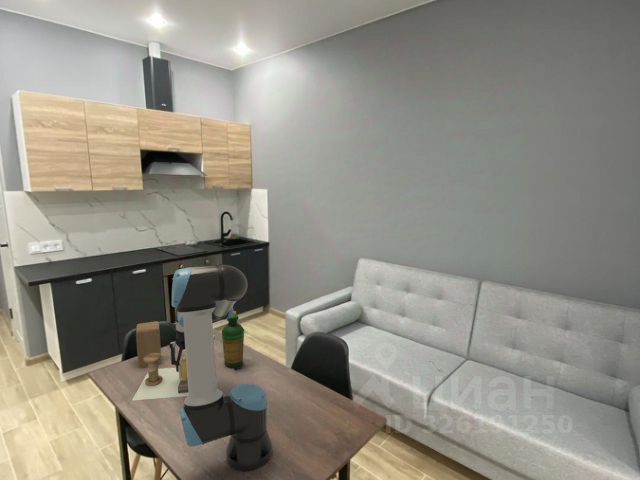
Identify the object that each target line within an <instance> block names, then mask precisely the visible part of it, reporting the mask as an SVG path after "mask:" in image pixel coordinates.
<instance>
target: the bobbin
mask: <svg viewBox="0 0 640 480" xmlns="http://www.w3.org/2000/svg"><path fill="white" fill-rule="evenodd" d="M160 359H161V360H162V353H161V354H160V353H151V354H148V355H146V356H145V357H144V362H146V363H148V367H147V373H148V375H149V378H147V379H146V380H145V384H146V385H147V386H155V385H158V384H160V383H161V382H162V381H163V378H162V376H160V375H159V374H158V369H159V365H158V360H160Z"/></svg>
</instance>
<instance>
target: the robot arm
mask: <svg viewBox="0 0 640 480" xmlns="http://www.w3.org/2000/svg"><path fill="white" fill-rule="evenodd" d="M247 290H248V279H247V277H246V275H245V274H244V272H242V271H241V270H240V269H239V268H237V267H236V266H233V265H228V264H218V265H217V264H216V265H206V266H194V267H191V266H190V267H185V268H180V269H177V270H175V272H174V274H173V279H172V285H171V306H172V307H173V308H174V315H175V316H174V317H175V338H176V340H175V341H170V343H169V344H168V346H169V348H170V361H171V362H170V364H171V365H173V366H175V368H176V371H177V372H179V380H180V379H181V378H182V371H181V360H182V354H183V351H184V350H185V357H186V364H187V378H188V391H189V394H188V396H185V398H184V400H183V406H182V407H181V408H179V409H178V410H179V415H180V421H181V425H182V429H183V434H184V438H185V442H186V444H187V446H188V447H192V448H193V447H197V446H201V445H205V444H208V443H211V442H213V441H217V440H219V439H221V440H222V439H223V438H227V437H229V440H228V442H227V445H226V449H225V452H226V454H225V455H226V456H225V457H226V461H227V464H228V465H229V466H230V467H231V468H232V469H235V470H237V471H241V472H248V471H254V470H256V469H257V470H258V469H259V468H261V467H263V466H264V465H266V463H268V462H269V460H270V459H271V456H272V453H273V443H272V440H271V437H270V434H269V433H268V430H267V428H268V427H267V425H268V423H267V422H268V421H267V418H268V417H267V415H268V414H267V409H268V408H267V407H268V402H267V394H266V391H265V390H264V388H263V387H261V386H259V385H256V384H253V383H241V384H238V385H237V384H236V385H235V386H234V387H233V388H231V390H230V392H229V395H225V396H224V393H223V391H222V390H220V389H219V388H218V380H217V368H216V367H217V365H216V353H215V338H214V326H213V322H217V321H220V320H221V321H222V320H227V319H228V318H232V316H233V311H234V304H235V303H236V302H237V301H240V300H241V299H242V298H243V297H244V296H245V295H246V293H247ZM176 346H177V348H179V349H178V353H177V357H176Z"/></svg>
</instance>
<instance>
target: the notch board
mask: <svg viewBox="0 0 640 480" xmlns="http://www.w3.org/2000/svg"><path fill="white" fill-rule="evenodd" d="M187 392H188V380H180V383H179V385H178V393H187Z"/></svg>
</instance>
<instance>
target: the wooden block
mask: <svg viewBox="0 0 640 480" xmlns="http://www.w3.org/2000/svg"><path fill="white" fill-rule="evenodd" d="M135 330H136V331H135V341H136V351H137V364H138V365H137V366H138V369H141V368H148V363H146V362H144V357H145V356H146V355H148V354H151V353H160V354H161V355H162V349H161V347H162V346H161V335H160V334H161V332H160V331H161V330H160V322H159V321H158V320H157V321H150V322H148V321H147V322H143V323H142V322H141V323H138V324H136V328H135ZM161 364H162V358H161V359H160V360H158V366H159V365H161Z"/></svg>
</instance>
